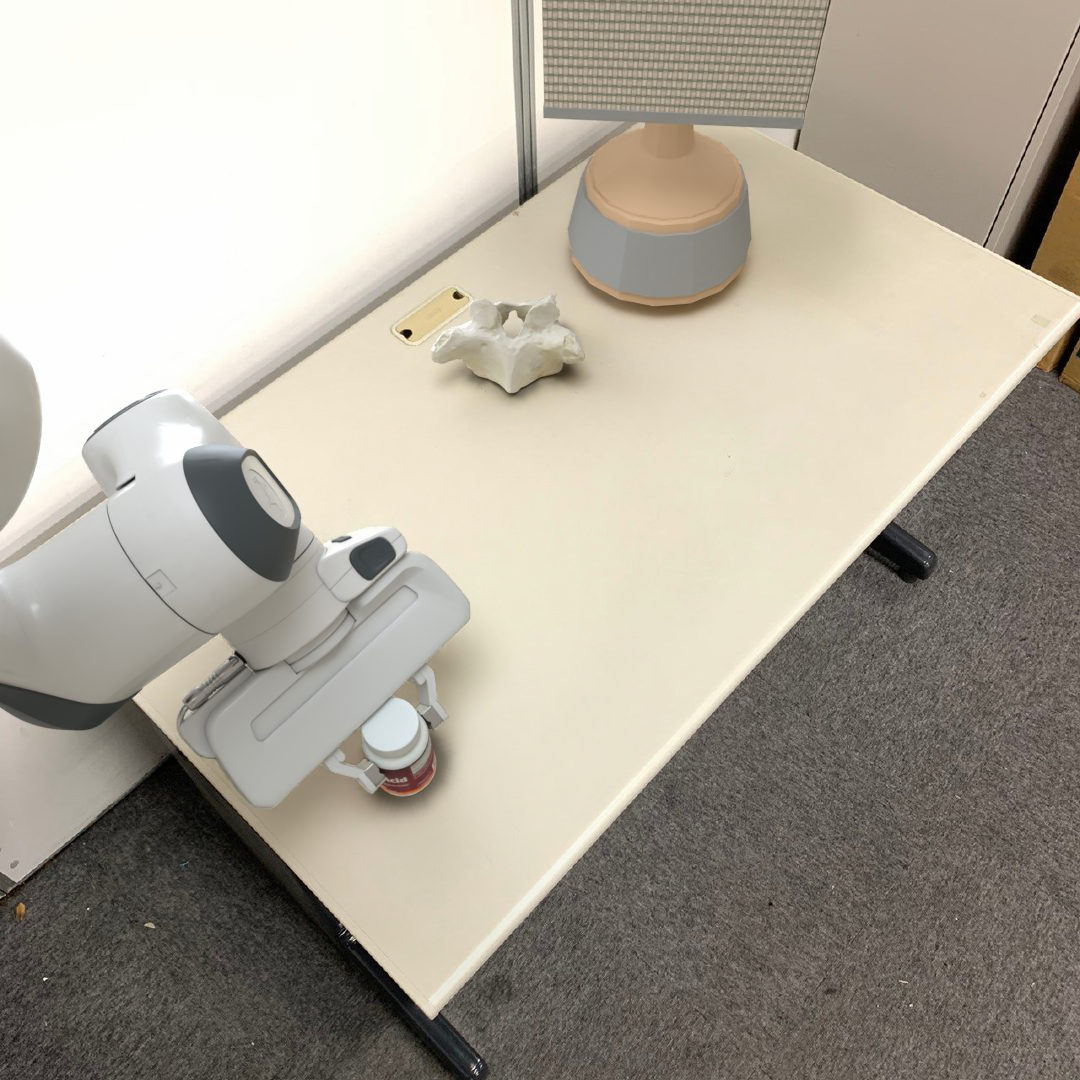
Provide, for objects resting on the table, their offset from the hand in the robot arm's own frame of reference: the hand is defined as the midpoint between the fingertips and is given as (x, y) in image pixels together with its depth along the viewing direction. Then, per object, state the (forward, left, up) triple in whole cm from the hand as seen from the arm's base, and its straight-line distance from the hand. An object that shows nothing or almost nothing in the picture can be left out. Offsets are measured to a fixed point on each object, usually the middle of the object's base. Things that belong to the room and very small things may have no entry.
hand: (408, 753), depth 71 cm
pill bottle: (0, +1, -5) cm, 5 cm away
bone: (+36, +22, -5) cm, 42 cm away
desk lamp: (+57, +22, -5) cm, 61 cm away
